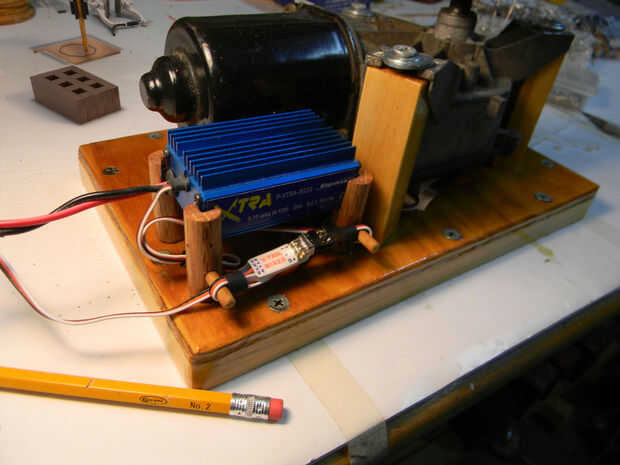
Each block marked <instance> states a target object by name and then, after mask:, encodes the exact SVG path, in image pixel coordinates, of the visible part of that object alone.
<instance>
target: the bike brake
mask: <svg viewBox="0 0 620 465" xmlns="http://www.w3.org/2000/svg"><path fill="white" fill-rule="evenodd" d="M132 5H134V2H133V0H114V12H115V14H116V15H117V16H118V17H119V18H121V17H122V10H125V11H126V12H127V13H129V14H130V15H133V16H134V17H136V18H138V20H139V21H138V20H136V21H134V20H131V21H127V22H126V21H115V22H112V21H111V20H109V19H110V17H111V6H110V0H102V1H100V0H88V7H89V8H90V10H91V11H95V12H96V13H97V14H98V16H99V18H100V19H101V21H102V22H103V23H104V24H105V25H106V26H108V27H109V28H111V30H110V32H111V34H112V36H114V37H115V36H116V33H115V31H114V30H115V29H119V28H126V27H135V26H138V25H140V24H141V26H143V27H145V26H147V23H150V20H147V19H146V18H145V17H144V16H143V15H142V14H141V12H139V11H138V10H136V9H135V8H134V7H132Z"/></svg>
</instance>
